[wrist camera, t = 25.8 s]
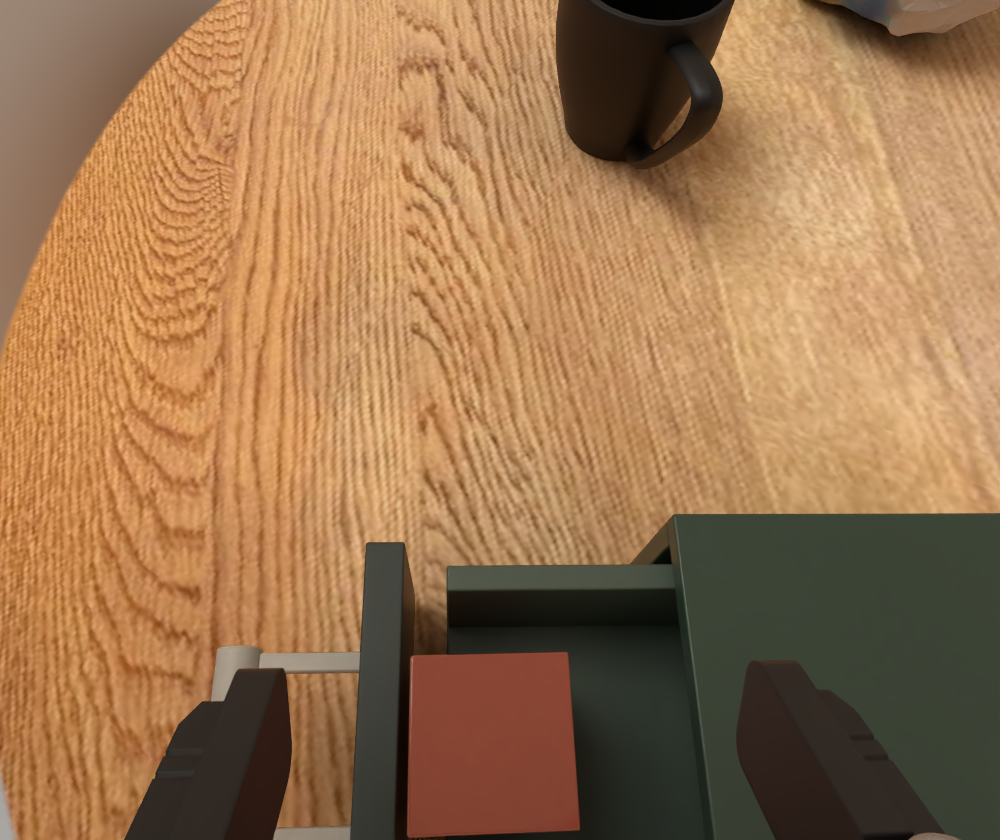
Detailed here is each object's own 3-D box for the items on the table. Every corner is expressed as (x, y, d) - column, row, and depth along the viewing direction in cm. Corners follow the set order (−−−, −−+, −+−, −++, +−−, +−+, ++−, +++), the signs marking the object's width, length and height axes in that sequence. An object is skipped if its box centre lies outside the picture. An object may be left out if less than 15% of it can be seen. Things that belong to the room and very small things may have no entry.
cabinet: (642, 937, 26) (736, 1019, 18) (611, 583, 32) (672, 513, 23) (1059, 921, 28) (1340, 990, 19) (962, 580, 33) (1146, 512, 24)
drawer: (223, 938, 25) (134, 1005, 18) (261, 596, 30) (203, 542, 23) (787, 917, 26) (911, 970, 19) (736, 591, 31) (820, 539, 24)
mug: (583, 244, 39) (621, 97, 31) (525, 83, 44) (544, -82, 36) (726, 220, 41) (801, 73, 32) (655, 67, 46) (703, -97, 37)
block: (544, 814, 26) (581, 830, 19) (418, 819, 26) (406, 837, 19) (538, 682, 28) (568, 651, 21) (420, 685, 28) (410, 655, 21)
